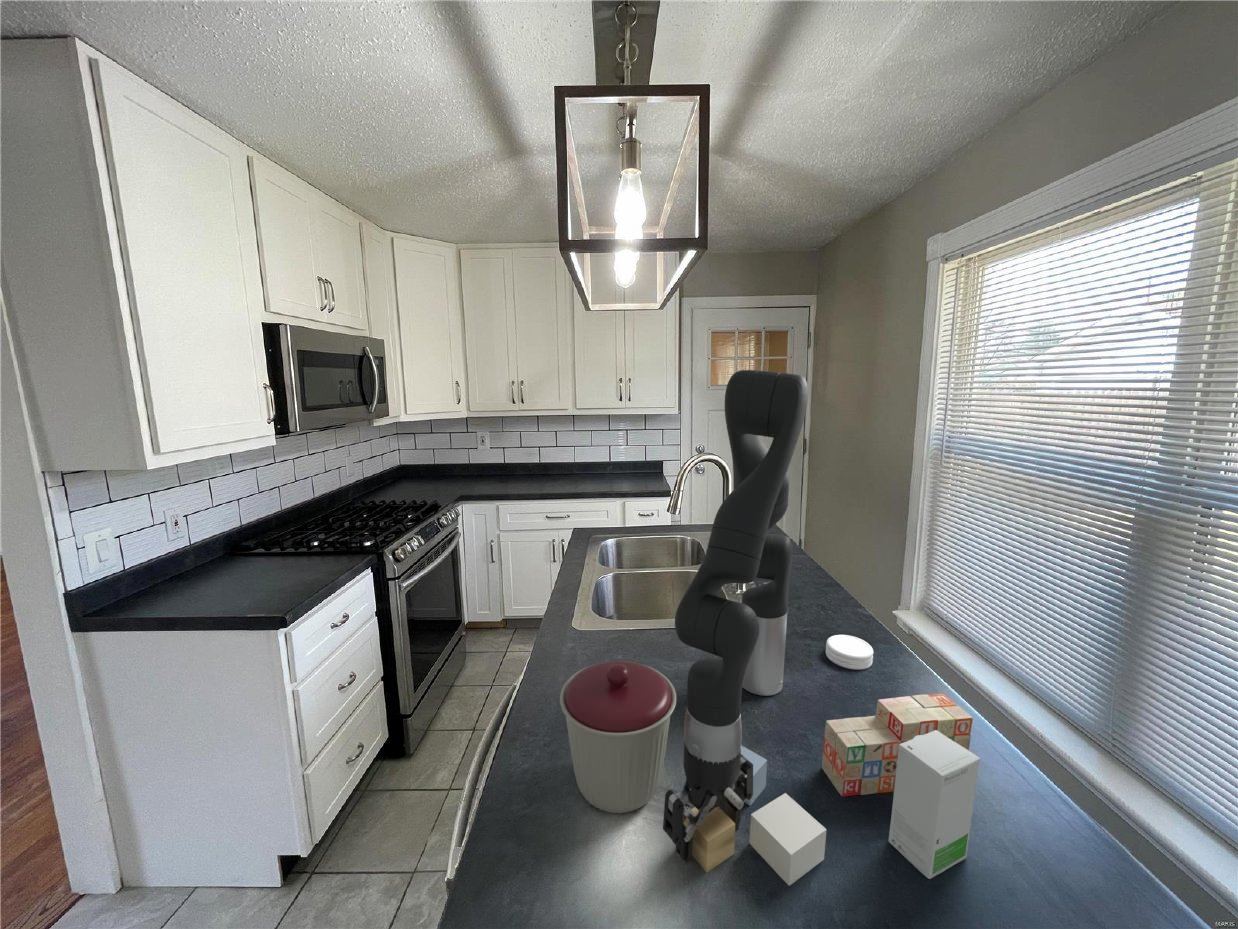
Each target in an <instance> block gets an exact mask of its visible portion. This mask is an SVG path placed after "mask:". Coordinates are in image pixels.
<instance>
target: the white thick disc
mask: <svg viewBox="0 0 1238 929" xmlns="http://www.w3.org/2000/svg"><path fill="white" fill-rule="evenodd" d="M825 645H826V646H825V655H826V657H827V658H828V660H830V661H831V663H834V664H835V665H837V666H839V667H842V668H845V669H848V670H849V669H850V670H861V671H862V670H867V669H868V668H870V667H871V666H872V665H873V662H874V649H873V647H872V645H870V644H869V643H868V642H867V641H865V640H864V639H862V638H859V637H857V636H853V635H848V634H835V635H832V636H830V637H828V638H827V640H826V644H825Z"/></svg>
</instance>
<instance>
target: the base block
mask: <svg viewBox="0 0 1238 929" xmlns="http://www.w3.org/2000/svg"><path fill="white" fill-rule="evenodd" d="M826 841H827V829H826V827H825V826H824V825H822V824H821V823H820V821H819V822H818V820H816V819H815V818H814V817H813V815H811V814H810V813H809V812H808V811H806V810H805V809H804V808H803V807H802V806H801V805H800V804H799V803H798V802H796V800H794V799H793V798H792V797H791V796H790V795H788V793H786V792H784V793H783V794H782V795H780V796H778V797H776V798H775V799H773V800H772V801H770V802H768V803H767V804H765V805H764V806H762V807H761V808H758V809H757V810H755V811H754V812H752V813H751V814H750V828H749V844H750V845H751V847H752V848H753V849H754V850H755V851H756V852H757V853H758V854H759V856H760V857H762V858H763V860H764V861H765V862H766V863H767V864H768V865H769V866H770V867H771V868H772V869H773V871H775V873H776V874H777V875H778V877H780V878H781V879H782V880H783V882H785V884H787V885H788V886H789V887H790V886H791V885H793V884H794V883H796V882H797V881H798V880H799V879H800V878H802V877H804V875H806V874H807V873H809V872H810V871H811V870H812V869H814V868H815V867H816V866H817V865H819V864H820V863H821V862H823V861H824V860H825V854H826V853H825V851H826Z"/></svg>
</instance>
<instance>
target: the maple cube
mask: <svg viewBox="0 0 1238 929" xmlns="http://www.w3.org/2000/svg"><path fill="white" fill-rule="evenodd" d="M691 810H692V811H693V812H694V813H695V814H696V815H697V814H698V812H699V810H698V809H697V808H696V807H695V806H694V807H693V808H691ZM688 824H689V819H688V818H686V820H685V822H684V825H685V826H686V827H687V826H688ZM692 838H693V846H692V857H693V858H694V859H695V861H697V863H698V864H699V865H700V867H701V868H702V869H703V870H704V871H705V873H709V872H710V871H712V870H713V869H714V868H716V867H717V866H719V865H720V864H722V863H723V862H724V861H726V860H727V859H729V858H730V857H732V856H734V855H735V839H736V832H735V823H734V822H733V821H732V820H731V819H730V818H729V817H728V816H727V815H726V813H725V810H723V809H722V808H721V806H719V807H716V808H714V809H713V810H712V811H711V812H709V813H708V814H707V816H706V818H705V820H704V822H703V824H702V825H701V826H697V828H696V830H695V832H694V834H693V836H692Z"/></svg>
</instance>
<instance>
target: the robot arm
mask: <svg viewBox="0 0 1238 929" xmlns="http://www.w3.org/2000/svg"><path fill="white" fill-rule="evenodd" d="M808 386H809V385H808V382H807V380H806V378H805V377H804V376H802V375H800V374H795V373H789V372H788V373H786V372H778V371H769V370H756V369H740V370H737V371H736V372H734V373H733V374H732V375H731V376H730V378H729V380H728V381H727V385H726V388H725V394H724V417H725V423H726V424H725V425H726V431H727V436H728V441H729V446H730V452H731V457H732V475H733V479H732V480H733V484H732V485H733V487H732V488H733V490H732V491H731V492H730V494H728V495H727V497H726V498H725V499H724V501H723V502H722V503H721V505H720V507H719V508H718V511H717V512H716V514H715V517H714V520H713V523H712V527H711V532H710V535H709V538H708V542H707V548H706V552H705V555H704V558H703V560H702V562H701V564H700V566H699V569H698V570H697V572H696V573H695V575H694V578H693V579H692V581H691V583H690V584H689V586H688V588H687V590H686V592H685V593H684V594H683V596H682V598H681V600H680V602H679V604H678V606H677V608H676V610H675V611H676V612H675V617H674V627H675V632H676V635H677V637H678V640H680V641H681V643H683V644H684V645H686V646H688V647H691V648H694V649H697V650H700V651H703V652H706V653H709V654H712V655H714V656H717V657H719V658H702V659H699V660H697V661H695V662H694V663H693V664H691V666H690V667H689V670H688V672H687V673H688V674H687V681H686V682H687V689H686V690H687V691H686V710H685V717H684V724H683V726H684V728H683V729H684V730H683V733H684V734H683V770H684V773H685V777H686V778H685V779H686V780H685V782H684V786H683V788H682V789H683V790H680V791H678V792H676V793H675V792H674V791H673V790H672V789H669V790H667V791H666V793H665V796H664V808H663V809H664V810H663V823H662V830H663V832H664V833H665V834H666V835H667V836H668V837H669V839H670V840H671V841H672V843H673V844H674V845H675V852H676V853H677V855H679V856H680V859H682V860H683V861H685V862H686V863H689V862H691V861H693V855H692V846H693V838H692V836H693V834H694V832H695V830H696V828H697V826H701V825H702V824H703V822H704V820H705V818H706V816H707V814H708V813H709V812H711V811H712V810H713V809H714V808H716V807H721V806H723V805H724V812H725V813H726V815H727V816H728V817H729V818H730V819H731V820H732V821H733V822H734V823H735V833H736V832H737V831H739V829H740V828H739V826H740V822H741V814H742V813H741V812H742V808H743V807H744V805H745V804H744V803H745V802H743V801H744V800H745V799H746V798H747V799H748V800H750V799H751V798H752V796H753V764H752V763H751V762H750V761H749V760H748V759H746V758H745V757H744V756H743V755H742V754H741V745H742V734H743V733H742V732H743V726H742V717H741V715H742V714H741V710H742V709H741V708H742V689H744V690H746V692H749V693H751V694H755V695H756V696H757V695H758V696H762V697H763V696H767V697H768V696H774V695H777V694H779V693H780V692H781V691H782V689H783V686H784V670H785V669H784V668H785V655H786V654H785V652H786V639H787V625H788V624H787V622H788V606H789V605H788V604H789V602H788V600H789V586H790V579H791V576H790V575H791V572H792V571H791V570H792V562H793V544H792V540H791V538H790V537H789V536H788V535H783V534H776V533H774V534H773V533H768V531H769V530H770V529H772V528H773V527H774V526H775V525H777V523H779V521H781V519H782V518H783V517H784V516H785V514H786V512H787V509H788V506H789V492H790V482H789V476H788V474H787V472H788V470H789V467H790V464H791V461H792V457H793V455H794V451H795V449H796V446H797V444H798V441H799V437H800V434H801V432H802V428H803V424H804V422H805V421H804V420H805V418H806V413H807V407H808V402H809V401H808V400H809V388H808ZM759 436H761V437H765V438H766V437H768V438H772V442H771V444H770V446H769V449H768V447H767V446H766V445H765V443H763V442H762V440H761V439H760V437H759ZM756 579H763V580H770V581H769V582H767V583H765V584H761V585H756V586H753V587H749V588H748V589H746V590H744V591H743V593H742V595H741V602H738V601H735V600H730V599H727V598H724V597H720V596H716V595H717V593H718V591H720V589H721V588H722V587H724V586H725V585H729V584H738V585H739V584H743V585H744V584H750V583H752V582H754V581H755V580H756ZM734 783H735V789H734V790H732V789H731V788H732V786H733V784H734ZM743 783H744V784H743ZM691 804H692V805H693V806H694V807H696V808H697V809H698V810H699V812H698V814H697V815H696V814H695V813H694V812H693V811H692V810H691V809H692V808H691ZM686 818H688V819H689V824H688V826H687V827H686V826H685V825H684V822H685V820H686Z"/></svg>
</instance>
